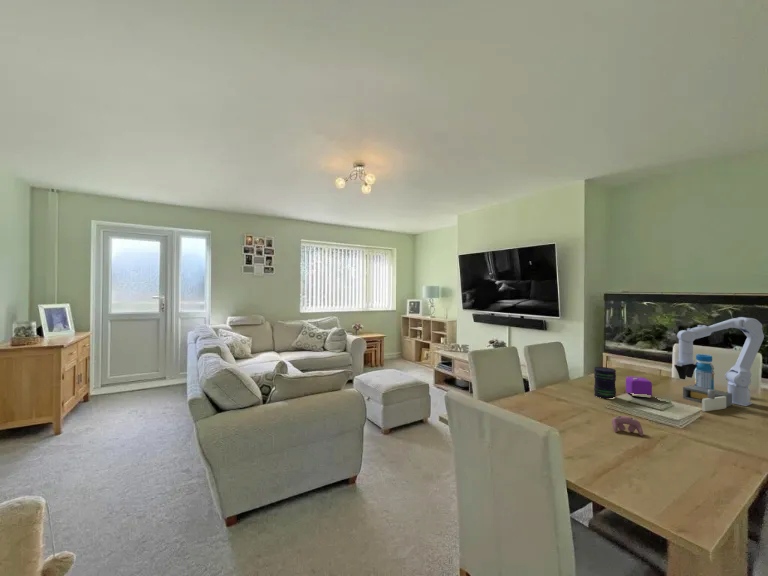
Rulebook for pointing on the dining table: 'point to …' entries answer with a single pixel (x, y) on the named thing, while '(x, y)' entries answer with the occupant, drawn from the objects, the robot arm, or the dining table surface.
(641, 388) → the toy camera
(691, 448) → the dining table surface
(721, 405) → the door
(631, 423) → the video game controller
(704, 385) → the beverage bottle
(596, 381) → the storage jar
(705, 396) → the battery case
